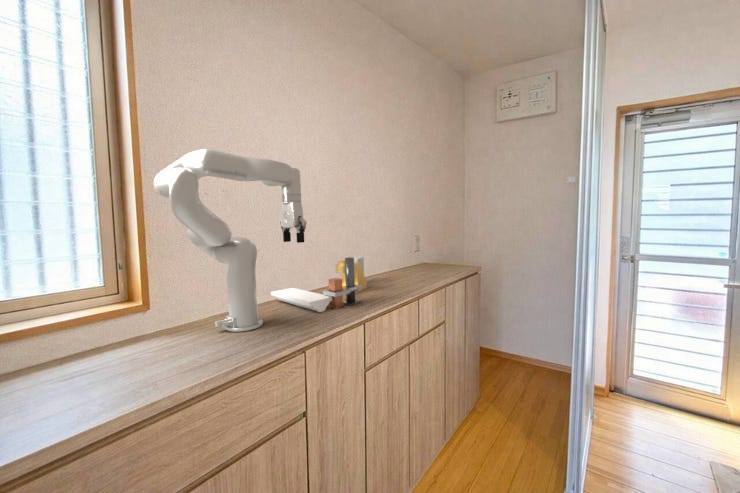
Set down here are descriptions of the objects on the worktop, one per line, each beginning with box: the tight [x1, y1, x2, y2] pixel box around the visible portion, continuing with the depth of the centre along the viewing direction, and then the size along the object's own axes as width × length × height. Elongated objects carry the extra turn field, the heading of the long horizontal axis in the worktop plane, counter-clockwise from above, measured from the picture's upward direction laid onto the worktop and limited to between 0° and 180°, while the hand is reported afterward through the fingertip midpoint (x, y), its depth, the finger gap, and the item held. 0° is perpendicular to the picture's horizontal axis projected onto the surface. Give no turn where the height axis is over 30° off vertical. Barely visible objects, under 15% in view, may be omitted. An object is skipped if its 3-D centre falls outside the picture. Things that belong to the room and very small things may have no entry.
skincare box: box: [352, 256, 365, 274], centre depth 187 cm, size 8×7×16 cm
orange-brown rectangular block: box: [328, 277, 344, 310], centre depth 142 cm, size 4×4×12 cm
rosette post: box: [322, 256, 363, 307], centre depth 146 cm, size 17×8×20 cm, turn 136°
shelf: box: [270, 287, 332, 313], centre depth 147 cm, size 12×30×5 cm, turn 46°
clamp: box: [335, 260, 368, 297], centre depth 173 cm, size 20×9×16 cm, turn 157°
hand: (293, 242), depth 137 cm, fingers open, 9 cm apart
